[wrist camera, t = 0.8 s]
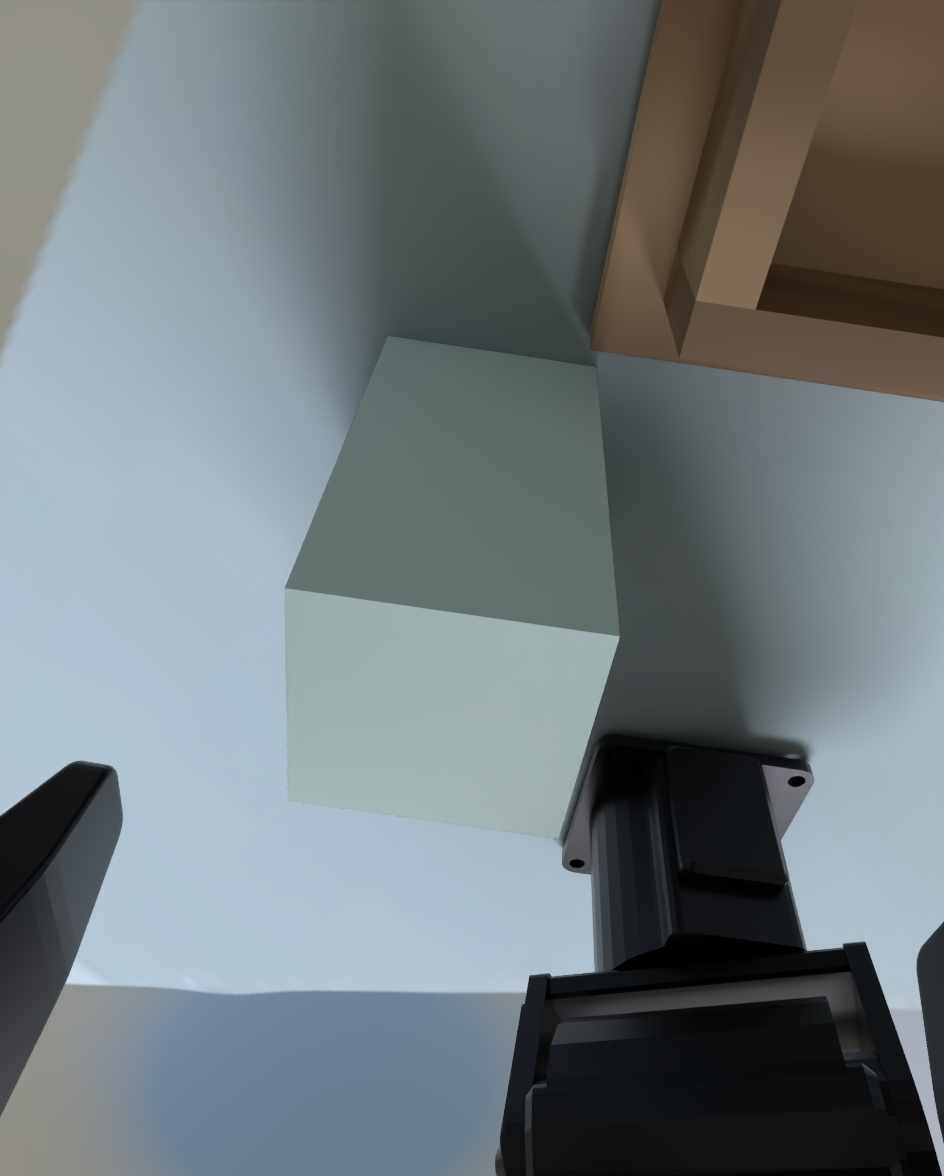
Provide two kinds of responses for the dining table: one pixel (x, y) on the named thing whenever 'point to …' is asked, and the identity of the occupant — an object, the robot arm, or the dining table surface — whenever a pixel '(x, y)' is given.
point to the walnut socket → (786, 195)
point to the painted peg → (455, 595)
